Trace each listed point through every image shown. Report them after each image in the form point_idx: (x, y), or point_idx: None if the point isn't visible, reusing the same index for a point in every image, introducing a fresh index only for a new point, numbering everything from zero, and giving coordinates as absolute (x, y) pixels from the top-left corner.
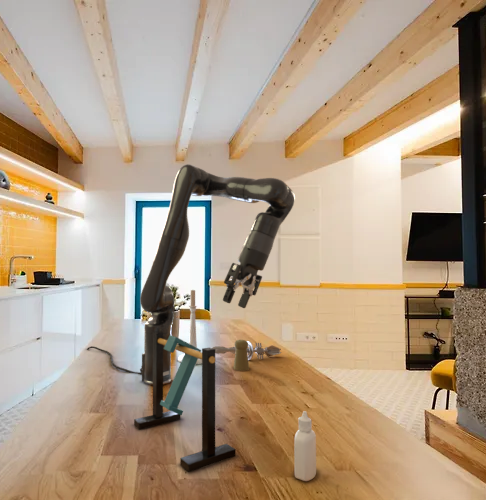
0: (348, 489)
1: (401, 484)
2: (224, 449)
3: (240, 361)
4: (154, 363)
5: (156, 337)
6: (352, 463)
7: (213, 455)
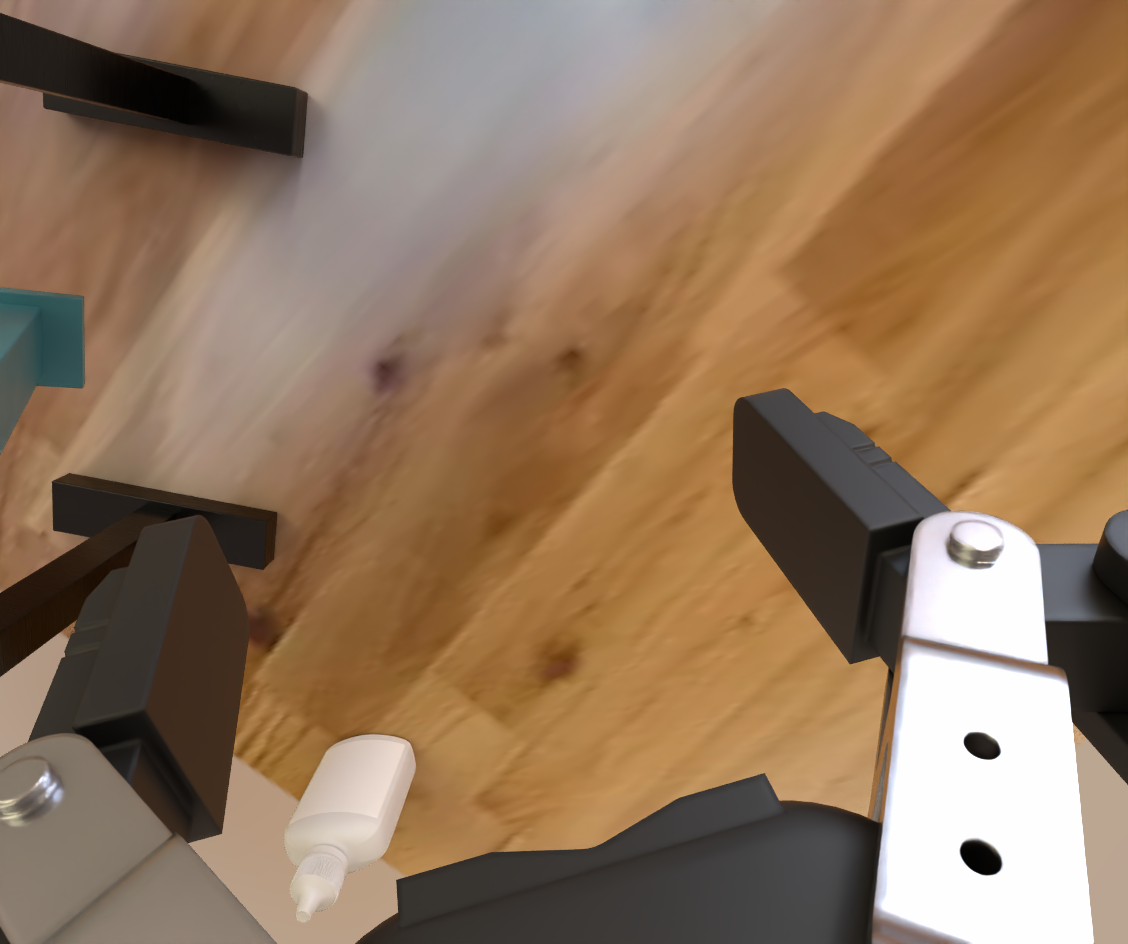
0: (404, 853)
1: None
2: (227, 544)
3: None
4: None
5: None
6: (549, 816)
7: None
